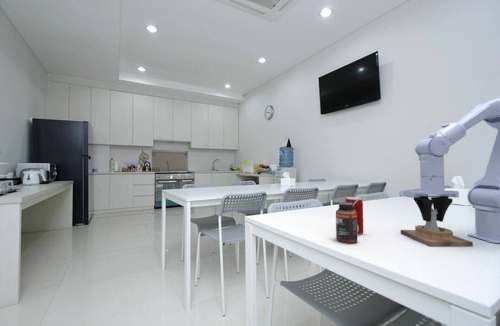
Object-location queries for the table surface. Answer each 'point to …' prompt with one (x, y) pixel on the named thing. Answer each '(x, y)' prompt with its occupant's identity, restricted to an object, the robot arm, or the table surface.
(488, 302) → the table surface
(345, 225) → the supplement bottle
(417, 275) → the table surface
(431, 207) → the robot arm
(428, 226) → the rook chess piece
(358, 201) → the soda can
